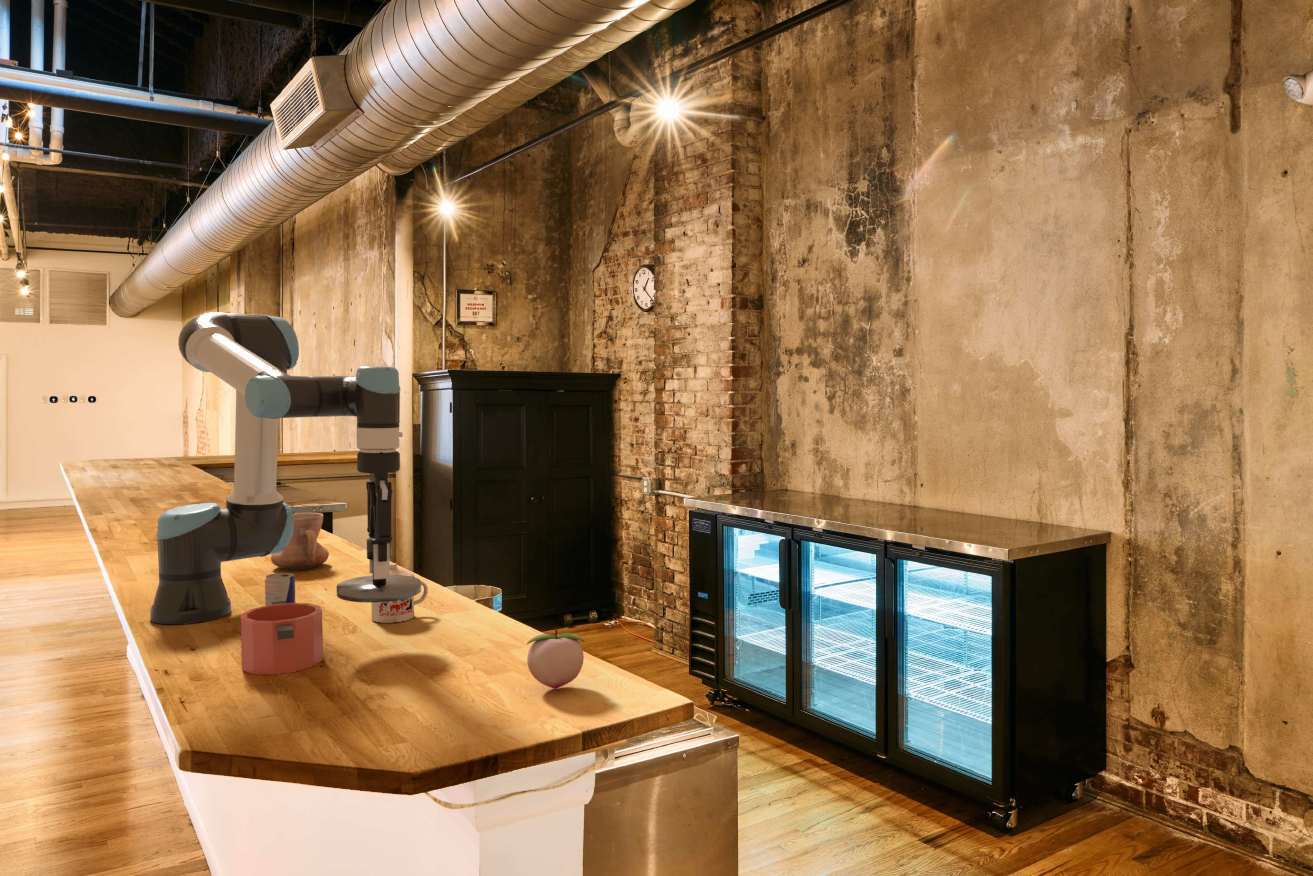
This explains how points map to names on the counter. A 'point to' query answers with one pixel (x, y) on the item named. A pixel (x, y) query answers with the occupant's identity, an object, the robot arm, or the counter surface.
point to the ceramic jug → (303, 544)
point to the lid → (378, 585)
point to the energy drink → (280, 588)
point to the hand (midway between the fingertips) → (379, 575)
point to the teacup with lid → (396, 603)
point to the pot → (281, 638)
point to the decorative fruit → (555, 658)
